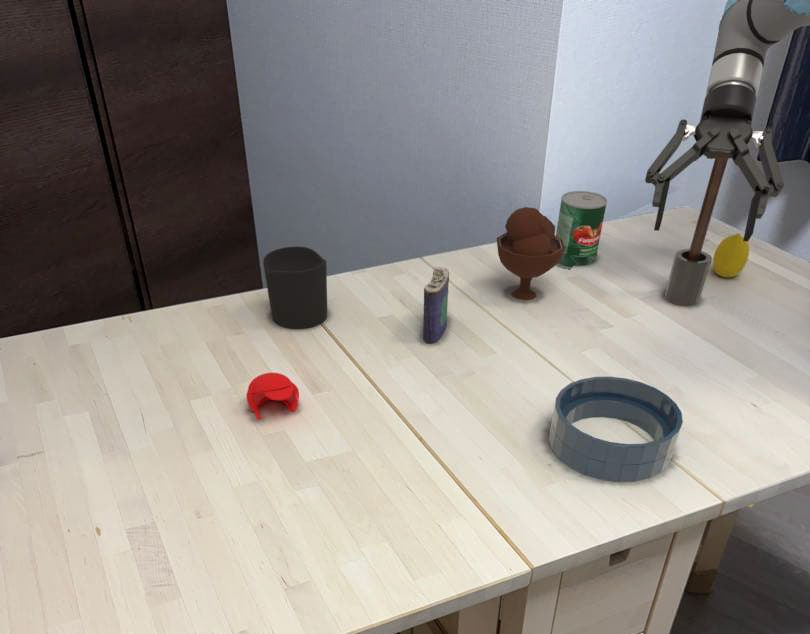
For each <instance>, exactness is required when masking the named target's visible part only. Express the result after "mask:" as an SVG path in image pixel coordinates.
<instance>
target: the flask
mask: <svg viewBox="0 0 810 634" xmlns="http://www.w3.org/2000/svg"><path fill="white" fill-rule="evenodd" d="M432 269H433V272H432V278H431V279H430V281H429V282H428V283H427V285H425V286H424V288H423V317H422V320H423V328H422V329H423V330H422V331H423V332H422V335H423V336H422V340H423V342H424V343H426V344H428V345H433V344H436V343H438V342H439V341H440V340H441V339H442V337H443V336H444V334H445V332H446V329H447V325H448V324H447V323H448V318H447V317H448V305H449V304H448V303H449V285H450V271H449V268H447V267H441V266H439V267H438V266H433V267H432Z"/></svg>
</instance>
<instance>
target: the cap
mask: <svg viewBox="0 0 810 634" xmlns="http://www.w3.org/2000/svg"><path fill="white" fill-rule="evenodd" d="M299 400H300V391H299V388H298V386H297V385H296V384H295V383H294V382H292V380H291V379H290V378H289V377H288V376H287V375H285V374H282V373H279V372H265V373H262V374H259V375H258V376H255V378H252V380H251V382H250V383H249V384H248V387H247V391H246V402H247V404H248V406H249V408H250V411H251V412H253V413H254V416H255V419H256V421H261V420H262V416H261V413H260V410H259V409H260V407H261V406H262V405H264V403H266V402H269V401H280V402H282V403H284V404H285V405H286V406H287V412H288V413H289V412H291V413H295V412H296V409H297V407H298V405H299Z"/></svg>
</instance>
